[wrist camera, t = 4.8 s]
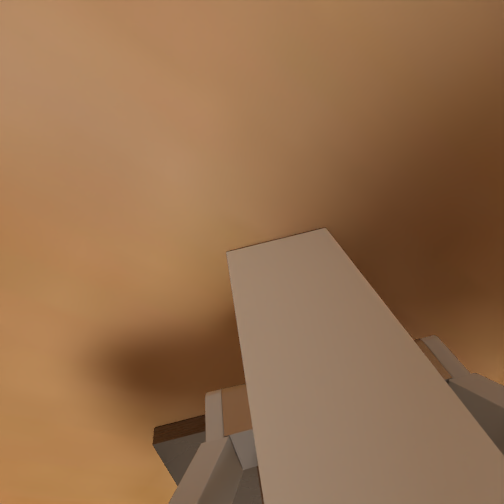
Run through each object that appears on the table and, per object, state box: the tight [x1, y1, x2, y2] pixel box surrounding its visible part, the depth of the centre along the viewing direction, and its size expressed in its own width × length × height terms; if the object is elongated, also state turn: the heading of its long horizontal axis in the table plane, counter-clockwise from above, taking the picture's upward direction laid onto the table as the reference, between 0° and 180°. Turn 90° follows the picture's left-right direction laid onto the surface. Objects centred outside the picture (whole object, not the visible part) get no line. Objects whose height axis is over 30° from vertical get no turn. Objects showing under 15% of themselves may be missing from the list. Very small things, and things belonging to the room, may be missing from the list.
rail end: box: [226, 228, 504, 504], centre depth 10 cm, size 5×5×13 cm
